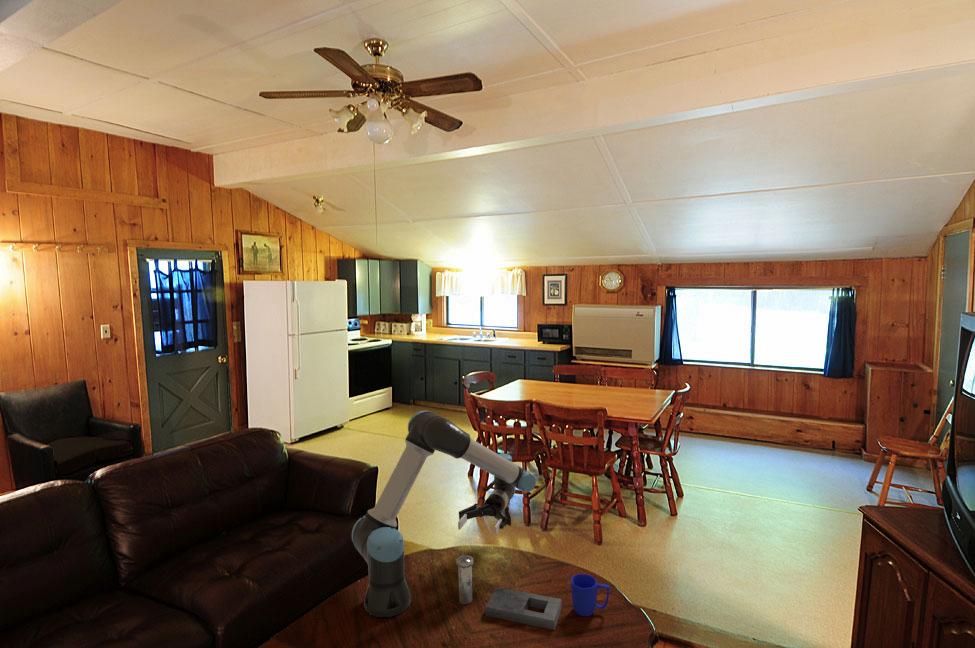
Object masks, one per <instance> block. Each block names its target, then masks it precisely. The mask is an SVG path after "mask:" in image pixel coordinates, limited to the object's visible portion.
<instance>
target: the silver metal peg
mask: <svg viewBox="0 0 975 648" xmlns="http://www.w3.org/2000/svg"><path fill="white" fill-rule="evenodd" d="M455 563H456V566H457V567H458V598H459V599H458V600H459V601H458V602H459V603H460V604H462V605H469V604H471V603H472V602H473V571H472V569H473V568H472V567H473V565H474V557H472V556H471V555H467V554H465V555H464V554H463V555H459V556H458V557H457V558H456V561H455Z"/></svg>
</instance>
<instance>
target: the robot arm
mask: <svg viewBox="0 0 975 648" xmlns="http://www.w3.org/2000/svg"><path fill="white" fill-rule="evenodd" d="M404 441H405V448H404V450H403V452H402V454H401V456H400V458H399V460H398V462H397V464H396V465H395V466H394V469H393V471H392V473H391V475H390V477H389V478H388V481H387V483H386V484H385V487H384V489H383V490H382V492H381V494H380V495H379V498H378V500H377V502H376V504H375V506H374V507H373V508H370V509H368V510H367V511H366V514H365V515H363V517H360V518H359V519H358V520H356V522H355V523H354V525H353V527H352V529H351V530H352V531H351V541H352V543H353V545H354V548H355V550H356V551H357V552H358V553H359V554H360V556H361V557H362V558H363V559H364V560H365V562H366V563H367V567H368V569H367V571H368V584H367V589H366V592H365V595H364V599H363V607H364V608H365V609H364V611H365V610H366V611H367V612H368V613H369V614H371V615H373V616H376V617H375V618H377V617H388V618H393V617H396V616H398V615H400V614H402V613H404V612H405V611H406V610H407V609H408V608H409V607H410V606H411V602H412V596H411V590H410V588H409V587H408V586H409V585H408V584H407V583H408V582H407V580H406V577H405V576H406V574H405V570H406V569H405V542H404V537H403V534H402V533H401V532H400V530H398V529H396V528H397V526H398V523H397V517H398V515H399V513H400V511H401V509H402V507H403V505H404V503H405V501H406V499H407V497H408V495H409V494H410V491H411V489H412V487H413V486H414V484H415V481H416V479H417V477H418V475H419V474H420V472H421V470H422V468H423V466H424V464H425V461H426V460H427V458H428V457H430V456H432V455H434V453H435V452H436V451H438V452H441V453H443V454H445V455H449V456H451V457H452V458H454V459H463V460H464V461H466V462H467V463H469V464H472V465H474V466H475V467H477V468H479V469H480V470H483V471H485V472H486V473H487V474H490V475H492V476H493V484H494V485H493V486H494V487H493V490H492V492H491V493H490V494H489V495H488V497H487V498H486V499H485V501H484V503H483V504H482V505H479V504H478V503H476V502H475V503H474V504H473V505H471V506H469V507H466V508H463V509H462V510H459V511H458V522H457V528H458V530H462V528H463V527H464V526H465V524H466V523H467V521H468V520H471V519H474V518H477V517H480V518H482V517H485V516H486V517H487V516H488V517H493V518H494V519H496V520H497V523H496V524H495V526H494V527H493V529H494V535H496V536H497V535H498V534H499V532H500V530H503V529H504V528H505V526H508V527H511V526H512V517H511V514H510V509H509V507H507V505H508V504H509V502H510V501H511V500H512V499H513V498H514V496H515V493H516V489H517V490H519V491H521V492H524V493H530V492H532V491H533V490H534V489H535V487H536V484H537V479H536V475H534V474H533V473H532V472H531V471H529V470H527V469H524V468H522V467H521V466H519V465H517V464H516V463H514V462H513V458H512V455H511V454H509V453H499V454H498V453H497V452H495V451H494V450H491V449H490V448H488V447H486V446H484V445H483V444H481V443H479V442H478V441H476V440H474V439H472V437H471V435H470V434H469V433H468V432H466V431H465V430H463V429H462V428H460V427H459V426H457V425H456V424H455V423H454V422H453V421H451V420H450V419H448V418H446V417H443V416H442V415H439V414H438V413H436V412H434V411H430V410H421V411H417V412H416V413H414V414H413V415H412V416H411V417H410V419H409V421H408V423H407V435H406V437H405V439H404ZM366 611H365V612H366ZM367 612H366V613H367ZM368 613H367V614H368ZM369 614H368V615H369ZM371 615H370V616H371ZM395 615H396V616H395ZM373 616H372V617H373ZM392 616H393V617H392Z"/></svg>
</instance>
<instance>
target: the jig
mask: <svg viewBox="0 0 975 648" xmlns="http://www.w3.org/2000/svg"><path fill="white" fill-rule="evenodd" d="M530 607H531V608H536V609H541V610H544V612H540V611H539V612H538V611H532V610H529V608H530ZM561 612H562V598H558V597H557V598H555V597H553V596H546V595H541V594H535V593H530V592H525V591H519V590H514V589H508V588H505V587H498V586H496V587H495V589H494V591H493V593H492V595H491V596H490V598H489V600H488V602H487V604H486V605H485V616H486V617H490V618H495V619H498V620H505V621H509V622H513V623H519V624H523V625H524V624H525V625H529V626H534V627H537V628H538V627H539V628H543V629H547V630H552V631H556V630H555V629H556V626H557V623H558V620H559V617H560V614H561Z"/></svg>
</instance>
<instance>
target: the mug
mask: <svg viewBox="0 0 975 648" xmlns="http://www.w3.org/2000/svg"><path fill="white" fill-rule="evenodd" d="M570 587H571V588H570V589H571V598H572V608H573V611H574V612H575V613H576V614H577V615H579V616H581V617H589V616H591V615H593V614H594V613H595V610H596V608H598V609H601V610H603V609H605V608H606V607H607V606H608V603H609V600H610V599H609V597H610V585H609V584H604V583H598V581H597V579H596V578H595V577H594V576H593V575H590V574H586V573H577V574H575V575H573V576H571V578H570ZM602 588H603V589H606V598H605V601H604V603H603V604H598V603H597V599H598V591H599V589H602Z"/></svg>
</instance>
